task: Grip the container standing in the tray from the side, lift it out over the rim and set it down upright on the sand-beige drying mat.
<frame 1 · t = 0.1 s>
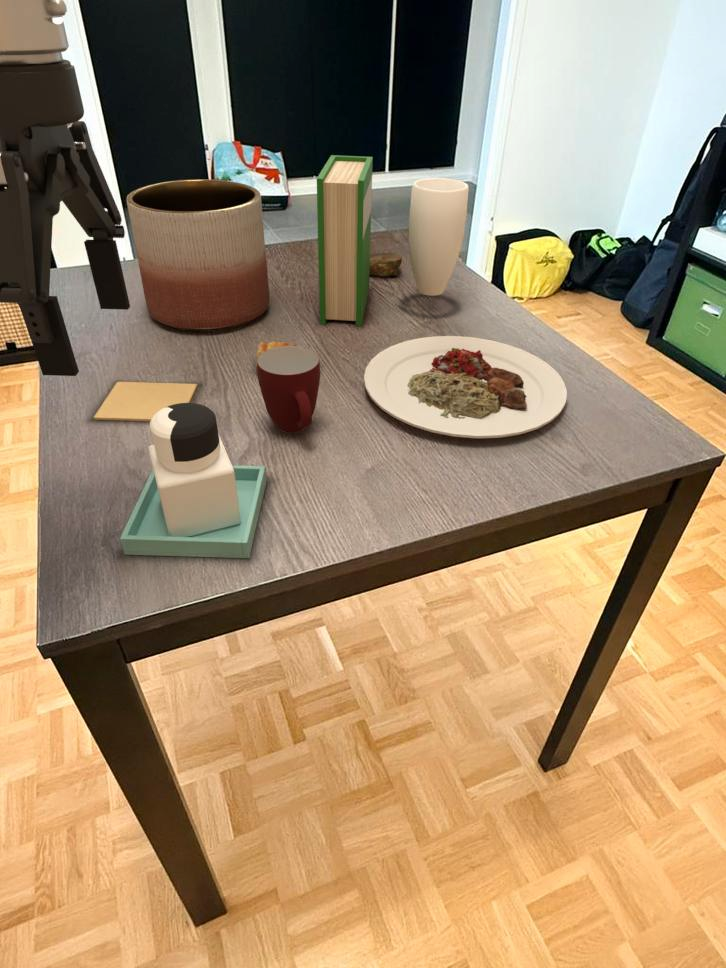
hand: (91, 338, 57), 22 cm above the table, tool pointing down, fingers open, 13 cm apart
tray: (200, 515, 71), on the table
drying mat: (148, 402, 90), on the table
planter: (210, 311, 115), on the table
container: (200, 513, 71), resting on tray
plated food: (462, 391, 94), on the table
mug: (296, 431, 85), on the table
cup: (429, 306, 119), on the table
decorative stone: (377, 270, 134), on the table
pastry: (282, 367, 99), on the table
hardback book: (345, 306, 119), on the table
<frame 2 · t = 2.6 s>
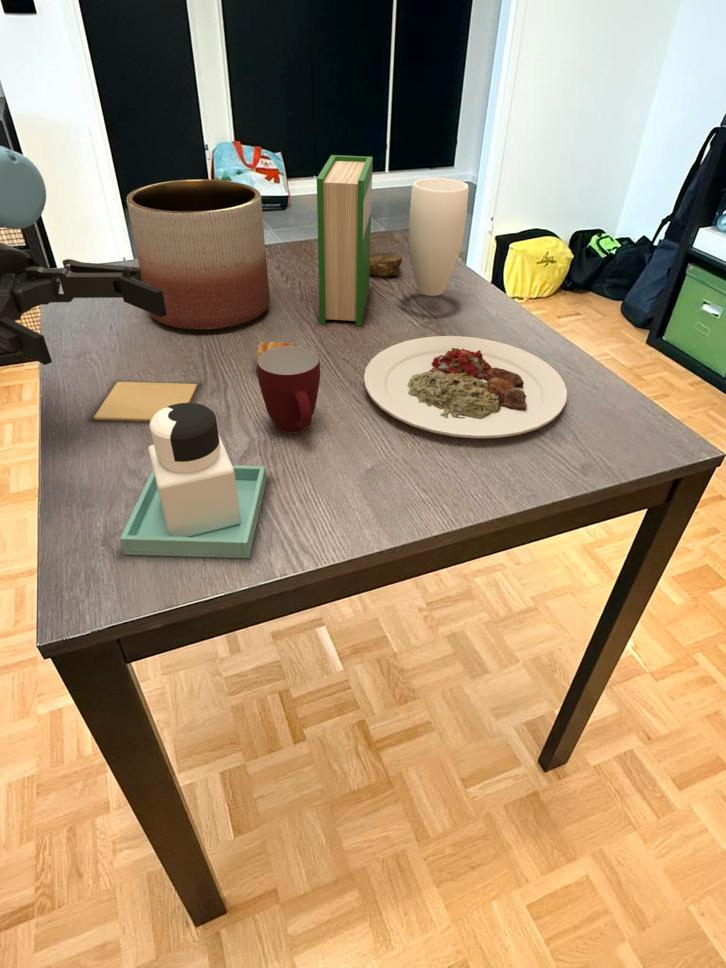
hand: (107, 325, 62), 20 cm above the table, tool horizontal, fingers open, 13 cm apart
nothing on the table moved.
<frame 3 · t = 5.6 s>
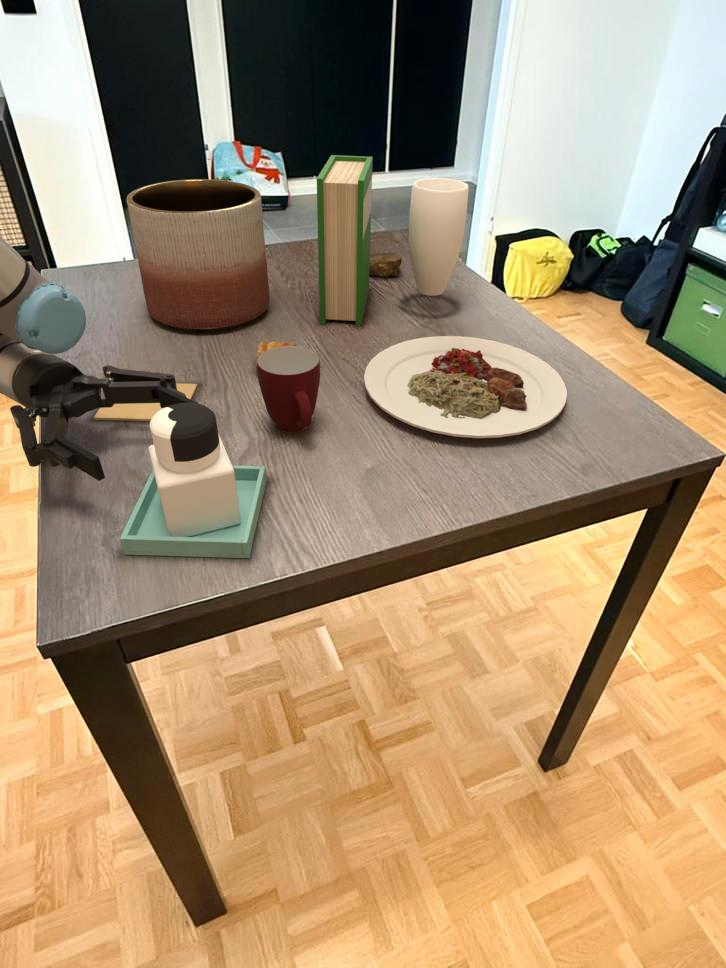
hand: (151, 440, 69), 7 cm above the table, tool horizontal, fingers open, 13 cm apart
nothing on the table moved.
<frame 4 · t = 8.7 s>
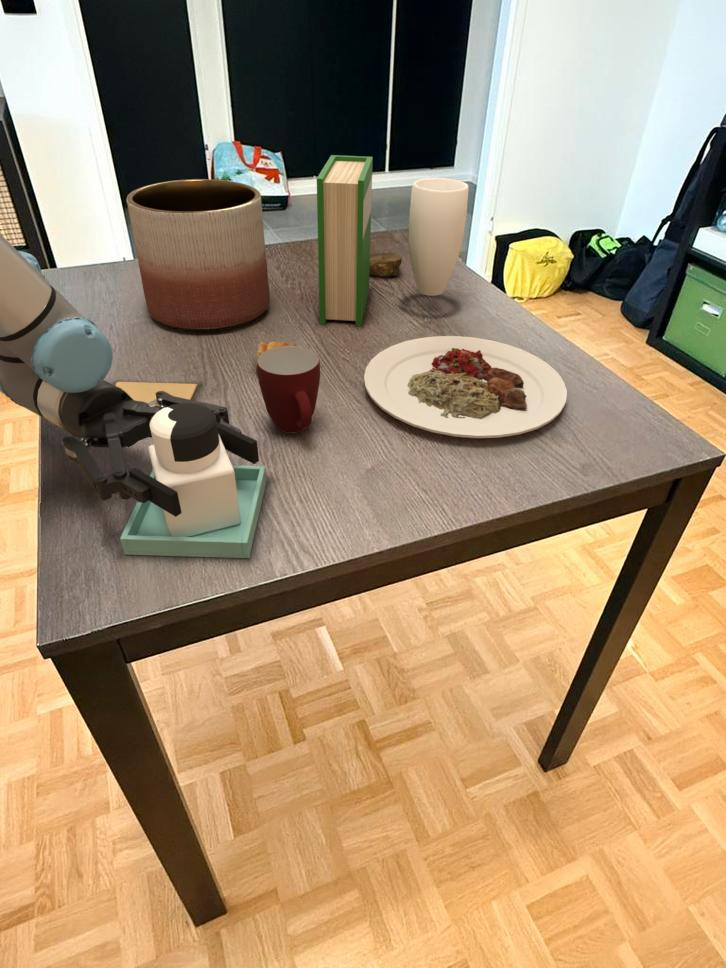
hand: (218, 477, 64), 7 cm above the table, tool horizontal, fingers closed on container, 10 cm apart
container: (200, 513, 71), resting on tray, touching gripper
everything else where it was.
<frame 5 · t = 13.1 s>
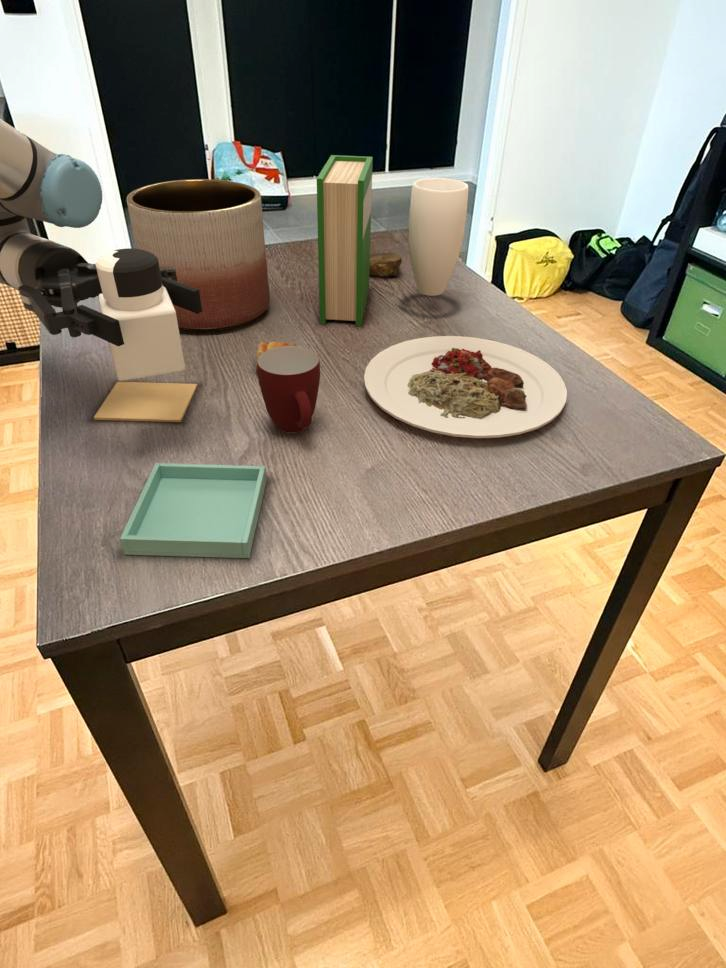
hand: (160, 316, 69), 18 cm above the table, tool horizontal, fingers closed on container, 10 cm apart
container: (149, 363, 76), point 11 cm above the table, touching gripper
everything else where it was.
when the fingers open (7 cm above the table, at t = 17.8 s): container stays where it is, resting on drying mat.
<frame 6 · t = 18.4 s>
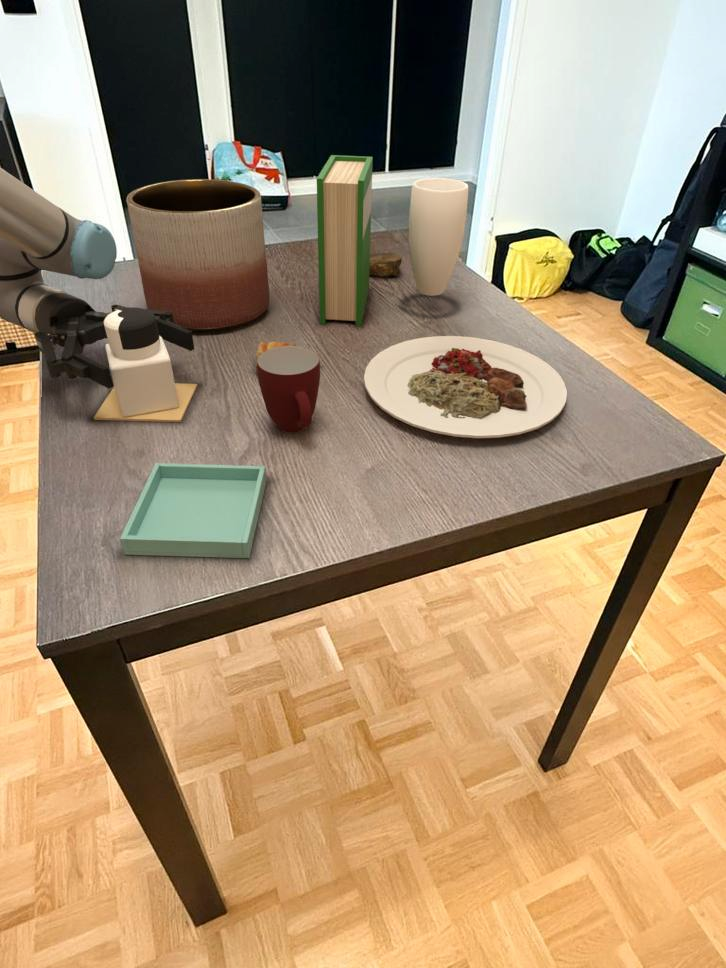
hand: (152, 358, 83), 8 cm above the table, tool horizontal, fingers open, 13 cm apart
container: (148, 401, 89), resting on drying mat
everything else where it was.
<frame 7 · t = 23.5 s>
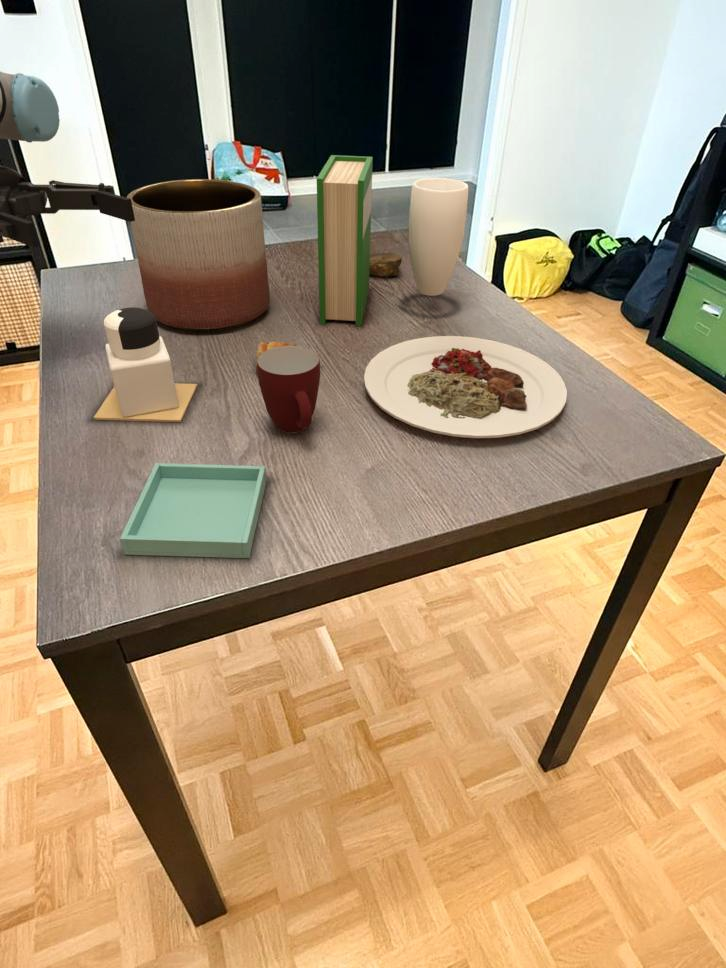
hand: (85, 222, 77), 24 cm above the table, tool horizontal, fingers open, 13 cm apart
nothing on the table moved.
at the end: container inside the target area on the drying mat (0.0 cm from its centre), point 0.2 cm above the drying mat's base; container tilted 0°; the gripper is holding nothing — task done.
